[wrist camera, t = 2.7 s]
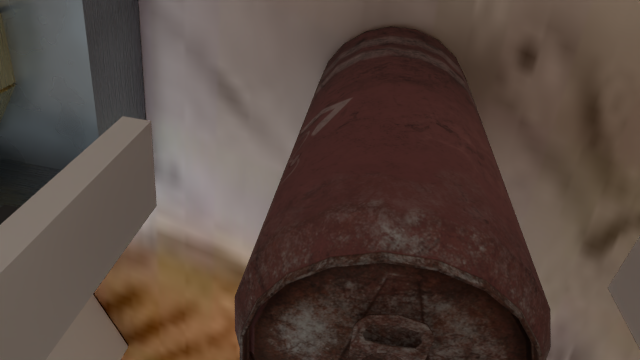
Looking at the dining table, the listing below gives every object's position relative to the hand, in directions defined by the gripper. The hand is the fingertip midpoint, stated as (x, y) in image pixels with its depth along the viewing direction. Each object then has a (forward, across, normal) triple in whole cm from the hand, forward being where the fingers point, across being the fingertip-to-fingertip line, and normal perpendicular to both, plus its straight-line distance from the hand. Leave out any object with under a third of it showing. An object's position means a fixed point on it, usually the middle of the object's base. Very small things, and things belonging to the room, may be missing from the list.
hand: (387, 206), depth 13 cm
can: (+9, 0, 0) cm, 9 cm away
